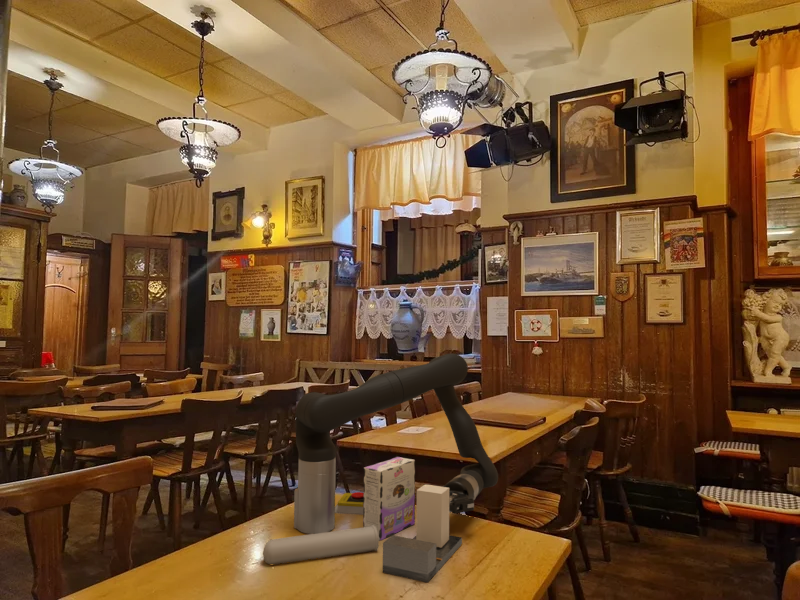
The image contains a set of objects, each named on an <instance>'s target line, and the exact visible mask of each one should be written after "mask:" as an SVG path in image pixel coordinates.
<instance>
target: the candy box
mask: <svg viewBox="0 0 800 600" xmlns="http://www.w3.org/2000/svg"><path fill="white" fill-rule="evenodd" d="M415 477H416V460H415V459H412V458H407V457H400V456H395V457H393V458H390V459H387V460H384V461H381V462H377V463H375V464H371V465H368V466H365V467H363V493H364V509H363V515H362V516H363V518H362V519H363V521H362V523H363V525H362V528H363V527H370V526H372V525H374V526H375V527H376V528H377V532H378V536H379V542H380V541H382V540H386V539H388V538H389V537H391V536H392V535H396V534H397V533H399V532H401V531H403V530H405V529H407V528H409V527H412V526H413V525H415V523H416V505H415V504H416V503H415V502H416V497H415V496H416V489H415V488H416V484H415V483H416V481H415V480H416V478H415Z"/></svg>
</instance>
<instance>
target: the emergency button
mask: <svg viewBox="0 0 800 600" xmlns="http://www.w3.org/2000/svg"><path fill="white" fill-rule="evenodd" d="M363 509H364V492H360V491H359V492H352V493H351V492H345V493H343V494H342V495H341V497H340V498H339V500H338V501H337V503H336V504H335V514H340V515H341V514H344V515H359V516H360V515H361V516H363Z"/></svg>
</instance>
